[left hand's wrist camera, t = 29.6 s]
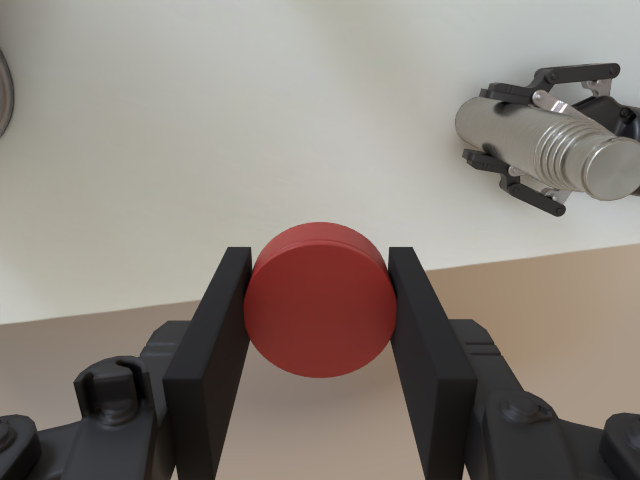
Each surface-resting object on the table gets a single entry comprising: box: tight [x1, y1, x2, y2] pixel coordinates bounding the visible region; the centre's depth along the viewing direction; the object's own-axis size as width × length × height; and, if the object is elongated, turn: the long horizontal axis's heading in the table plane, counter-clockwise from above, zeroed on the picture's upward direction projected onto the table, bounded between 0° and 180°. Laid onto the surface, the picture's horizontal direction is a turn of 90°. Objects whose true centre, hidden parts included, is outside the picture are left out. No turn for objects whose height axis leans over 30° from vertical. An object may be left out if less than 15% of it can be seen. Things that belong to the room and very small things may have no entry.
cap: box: [243, 222, 397, 378], centre depth 14 cm, size 5×5×2 cm
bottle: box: [455, 97, 640, 201], centre depth 35 cm, size 5×5×23 cm
